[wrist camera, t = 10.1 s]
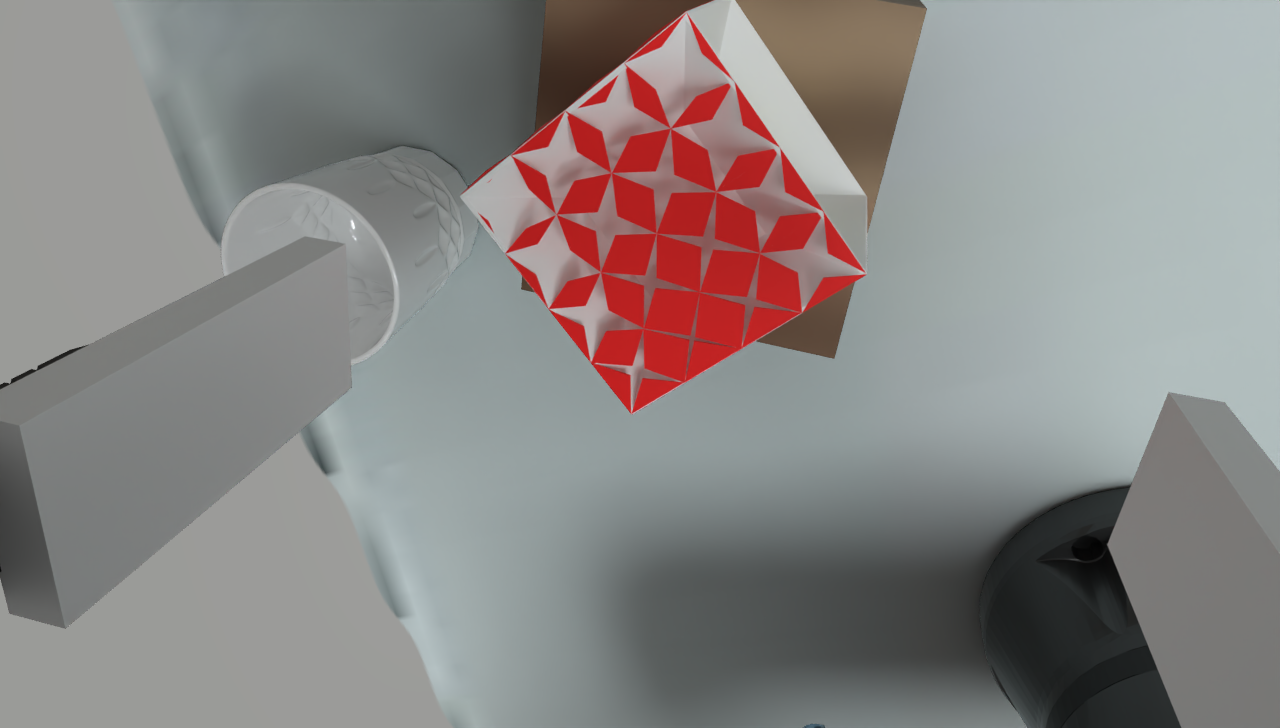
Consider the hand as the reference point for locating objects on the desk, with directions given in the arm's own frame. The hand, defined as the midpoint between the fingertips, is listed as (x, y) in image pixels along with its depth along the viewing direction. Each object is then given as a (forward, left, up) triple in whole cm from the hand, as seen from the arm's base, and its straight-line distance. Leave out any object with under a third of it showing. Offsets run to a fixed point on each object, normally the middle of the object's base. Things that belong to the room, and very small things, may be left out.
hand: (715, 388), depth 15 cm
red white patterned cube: (-1, +3, -18) cm, 18 cm away
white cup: (-8, +18, -28) cm, 34 cm away
